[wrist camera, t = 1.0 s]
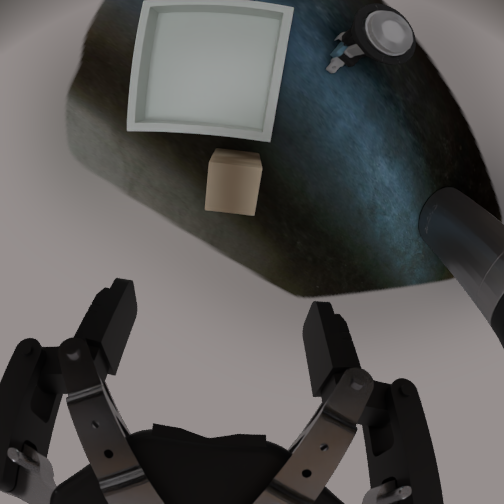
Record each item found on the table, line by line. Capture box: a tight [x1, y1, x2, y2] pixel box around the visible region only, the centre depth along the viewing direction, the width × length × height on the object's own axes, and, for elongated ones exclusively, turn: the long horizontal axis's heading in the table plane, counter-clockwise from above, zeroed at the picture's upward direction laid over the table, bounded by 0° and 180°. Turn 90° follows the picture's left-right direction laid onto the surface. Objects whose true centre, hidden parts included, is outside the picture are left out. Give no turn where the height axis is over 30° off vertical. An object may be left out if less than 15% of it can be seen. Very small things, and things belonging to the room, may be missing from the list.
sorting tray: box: [127, 0, 294, 142], centre depth 21 cm, size 14×14×4 cm
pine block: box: [205, 148, 262, 216], centre depth 26 cm, size 4×4×6 cm
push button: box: [326, 4, 416, 73], centre depth 17 cm, size 7×5×10 cm
